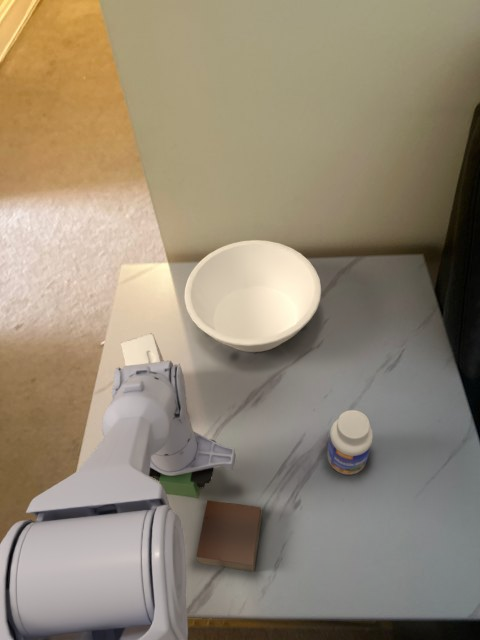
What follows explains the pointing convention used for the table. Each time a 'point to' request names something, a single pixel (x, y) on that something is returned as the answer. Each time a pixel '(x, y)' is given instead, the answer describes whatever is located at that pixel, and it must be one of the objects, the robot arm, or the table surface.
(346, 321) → the table surface
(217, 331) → the bowl
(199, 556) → the walnut block
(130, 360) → the ink box
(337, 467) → the pill bottle
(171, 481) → the green cube
